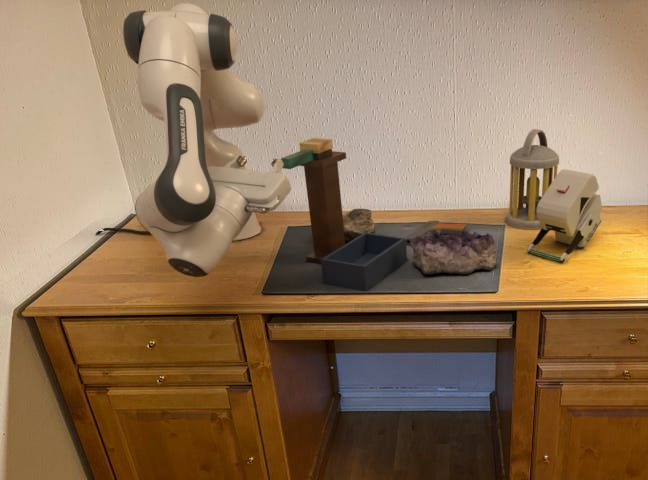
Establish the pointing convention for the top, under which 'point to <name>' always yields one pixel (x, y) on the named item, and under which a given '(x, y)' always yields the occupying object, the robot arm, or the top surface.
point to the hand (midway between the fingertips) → (261, 159)
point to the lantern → (530, 180)
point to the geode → (454, 253)
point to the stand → (325, 205)
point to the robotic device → (568, 212)
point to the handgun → (436, 230)
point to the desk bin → (364, 261)
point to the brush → (309, 152)
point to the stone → (357, 223)
